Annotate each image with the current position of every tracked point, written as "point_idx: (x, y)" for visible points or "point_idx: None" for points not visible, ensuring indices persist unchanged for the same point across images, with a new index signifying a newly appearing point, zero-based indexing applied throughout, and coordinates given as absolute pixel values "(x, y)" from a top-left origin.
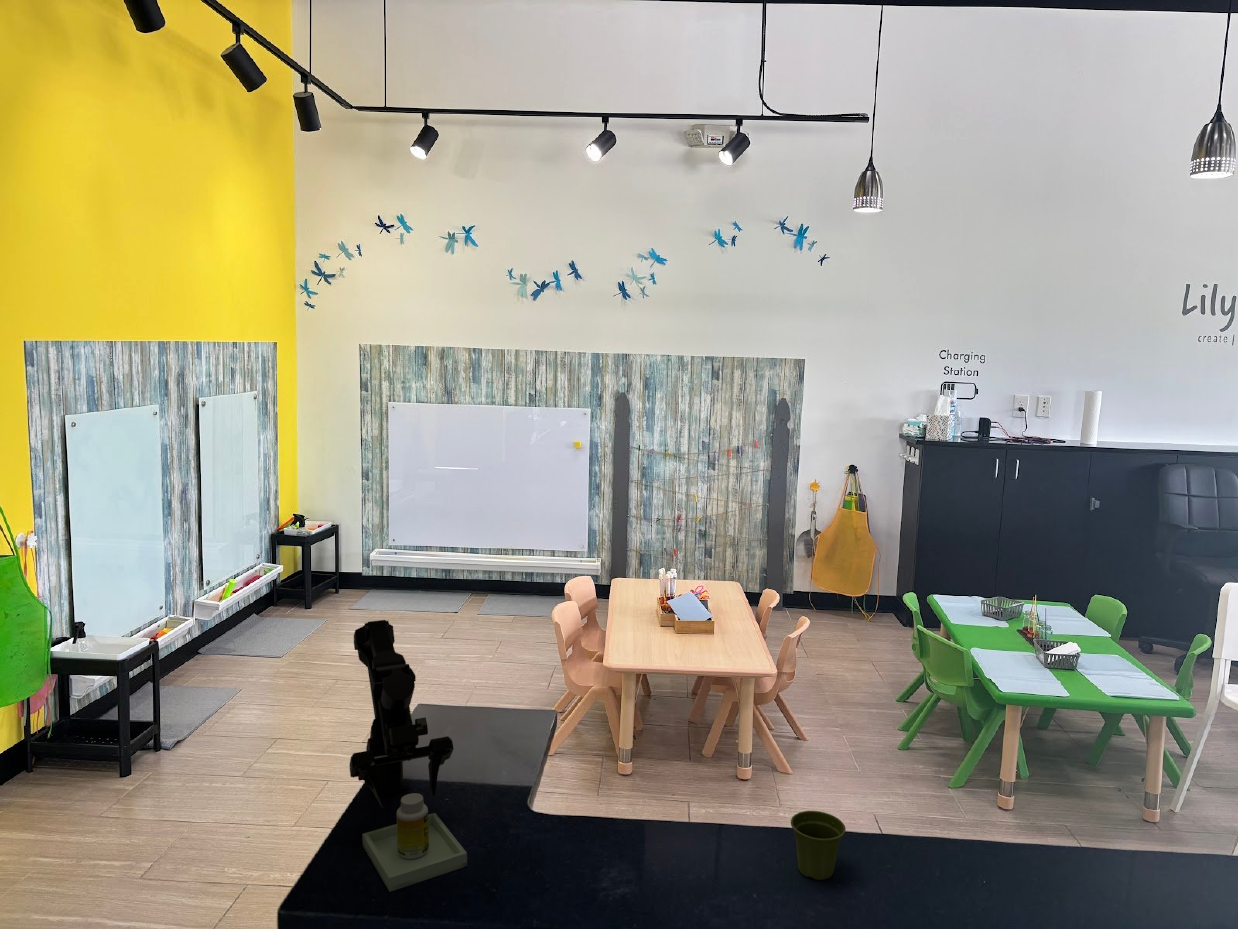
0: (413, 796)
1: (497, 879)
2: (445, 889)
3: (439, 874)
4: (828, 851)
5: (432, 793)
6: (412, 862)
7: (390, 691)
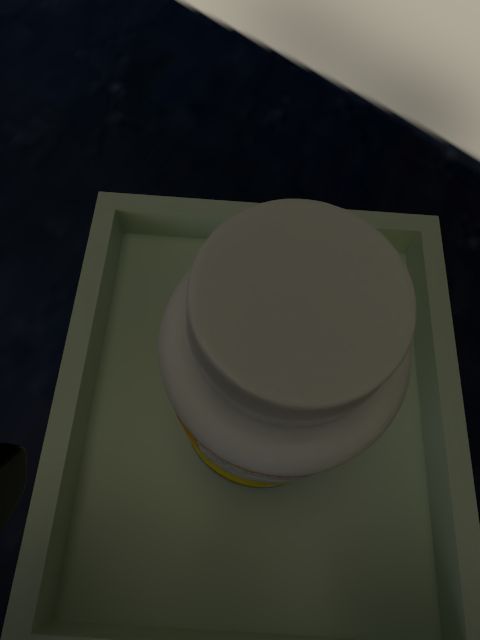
0: (275, 319)
1: (74, 118)
2: (241, 163)
3: None
4: None
5: (12, 460)
6: None
7: None
